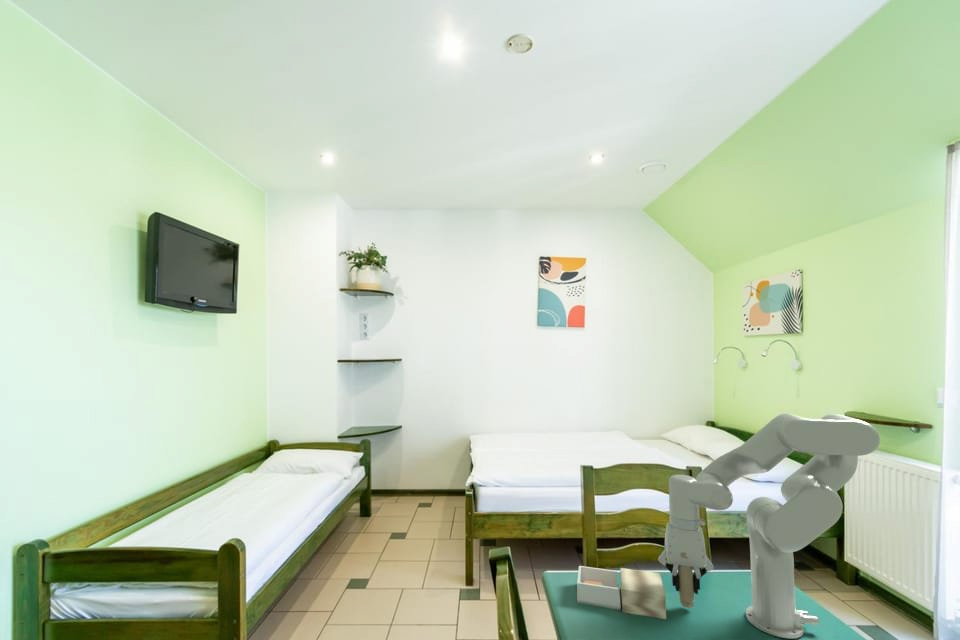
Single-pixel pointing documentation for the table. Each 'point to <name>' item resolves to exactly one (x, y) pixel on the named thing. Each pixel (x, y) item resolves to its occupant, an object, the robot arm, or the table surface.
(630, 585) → the beige textured block
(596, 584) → the tile
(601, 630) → the table surface
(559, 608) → the table surface
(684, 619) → the table surface
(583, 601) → the box
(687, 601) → the handle
